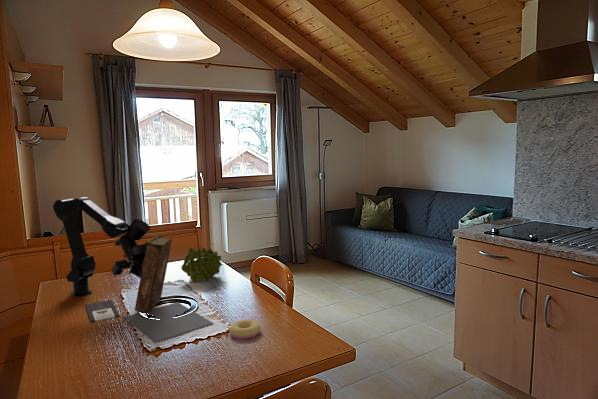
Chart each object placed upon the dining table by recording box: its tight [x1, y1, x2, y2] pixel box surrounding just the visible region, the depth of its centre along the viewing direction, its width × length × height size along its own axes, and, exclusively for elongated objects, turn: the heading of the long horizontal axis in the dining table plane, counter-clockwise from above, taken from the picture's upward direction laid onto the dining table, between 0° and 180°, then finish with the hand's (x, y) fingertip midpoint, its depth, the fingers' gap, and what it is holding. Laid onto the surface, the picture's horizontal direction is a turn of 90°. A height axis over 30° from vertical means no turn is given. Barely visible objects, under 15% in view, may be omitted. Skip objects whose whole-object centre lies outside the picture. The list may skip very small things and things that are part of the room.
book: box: [134, 234, 173, 313], centre depth 153 cm, size 16×6×25 cm, turn 5°
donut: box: [228, 319, 262, 340], centre depth 132 cm, size 10×5×9 cm
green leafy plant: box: [180, 247, 223, 283], centre depth 185 cm, size 18×16×16 cm
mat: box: [124, 301, 214, 344], centre depth 142 cm, size 26×20×1 cm
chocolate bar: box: [85, 299, 120, 323], centre depth 150 cm, size 9×1×18 cm
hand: (147, 281), depth 153 cm, fingers closed
